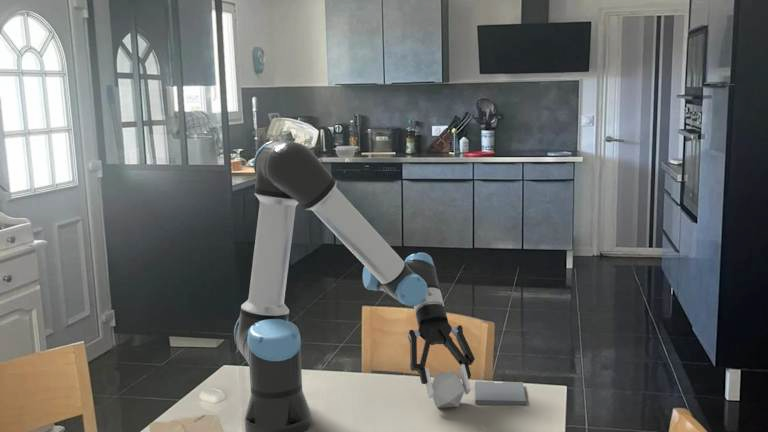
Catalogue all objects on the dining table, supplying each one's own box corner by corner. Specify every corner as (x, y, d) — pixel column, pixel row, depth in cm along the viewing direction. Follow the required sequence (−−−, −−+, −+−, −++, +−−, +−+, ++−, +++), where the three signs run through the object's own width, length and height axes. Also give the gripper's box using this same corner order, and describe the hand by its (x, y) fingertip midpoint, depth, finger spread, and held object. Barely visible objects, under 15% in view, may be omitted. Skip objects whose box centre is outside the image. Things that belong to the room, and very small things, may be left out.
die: (454, 418, 182) (474, 381, 184) (422, 399, 183) (442, 362, 184) (451, 415, 190) (469, 380, 192) (420, 398, 191) (439, 363, 192)
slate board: (475, 403, 188) (475, 399, 188) (475, 385, 200) (475, 381, 200) (525, 404, 187) (525, 400, 186) (522, 385, 198) (522, 382, 198)
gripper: (391, 305, 192) (408, 392, 179) (473, 298, 196) (496, 382, 183) (386, 320, 198) (403, 405, 185) (466, 313, 202) (488, 395, 189)
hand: (449, 393), depth 184 cm, fingers closed on die, 8 cm apart
